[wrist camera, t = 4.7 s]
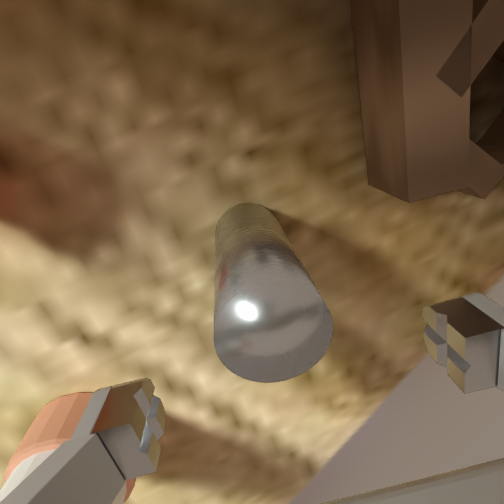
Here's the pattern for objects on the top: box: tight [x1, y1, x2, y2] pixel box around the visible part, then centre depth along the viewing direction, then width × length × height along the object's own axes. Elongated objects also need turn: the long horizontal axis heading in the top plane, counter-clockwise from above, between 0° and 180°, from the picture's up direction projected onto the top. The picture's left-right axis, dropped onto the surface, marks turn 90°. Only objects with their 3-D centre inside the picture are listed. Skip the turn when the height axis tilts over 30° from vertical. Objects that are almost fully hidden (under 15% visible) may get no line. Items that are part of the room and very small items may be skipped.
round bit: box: [214, 203, 333, 383], centre depth 14 cm, size 4×4×9 cm
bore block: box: [350, 0, 504, 203], centre depth 13 cm, size 15×10×4 cm
